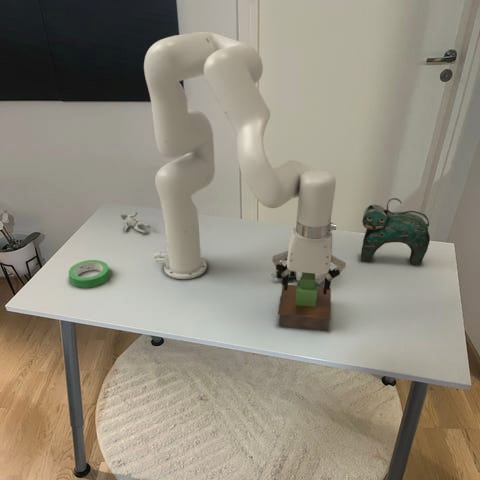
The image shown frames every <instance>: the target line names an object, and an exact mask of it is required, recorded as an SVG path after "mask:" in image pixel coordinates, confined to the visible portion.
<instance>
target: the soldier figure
mask: <svg viewBox="0 0 480 480" xmlns="http://www.w3.org/2000/svg"><path fill="white" fill-rule="evenodd" d="M137 215H138V211H135V212H134V213H133V214H128V213H121V214H120V218H121V220H123V221H124V224H125V228H124V232H127V230H128V229H129V226H130V227H132V228H133V229H134V230H135V231H137V232H138V233H143V234H144V235H145V234H146V235H147V234H148V232H147V231H146V230H143V229H142V228H141V226H145V227H147V228H148V229H151V225H150V224H147V223H146V222H144V221H138V220H137V219H136V218H135V217H136V216H137Z"/></svg>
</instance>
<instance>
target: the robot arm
mask: <svg viewBox="0 0 480 480" xmlns="http://www.w3.org/2000/svg"><path fill="white" fill-rule="evenodd" d="M263 65H264V64H263V60H262V57H261V55H260V54H259V52H258V51H257V50H256V49H255V48H254V47H253V46H252V45H250V44H248V43H246V42H242V41H240V40H237V39H233V38H230V37H227V36H224V35H222V34H219V33H216V32H211V31H206V30H205V31H196V32H190V33H189V32H188V33H183V34H177V35H171V36H168V37H165V38H162V39H159V40H157V41H156V42H154V43H153V44H152V45H151V46H150V47H149V48H148V50H147V51H146V53H145V56H144V62H143V72H144V77H145V82H146V86H147V89H148V93H149V99H150V105H151V115H152V122H153V123H152V124H153V129H154V139H155V143H156V147H157V150H158V152H159V154H160V155H161V156H163V157H165V158H167V159H174V160H172V161H170V162H167V163H166V164H164V165H162V166H161V167H160V168H159V170H158V171H157V172H156V174H155V177H154V184H155V188H156V191H157V195H158V197H159V201H160V205H161V210H162V211H161V212H162V219H163V226H164V235H165V242H166V243H165V244H166V251H165V252H160V251H159V252H158V251H155V252H154V259H155V262H156V263H160V264H161V263H162V264H163V270H164V273H165V274H166V275H167V276H169V277H170V278H172V279H177V280H191V279H194V278H197V277H200V276H201V275H203V274H204V273H205V272H206V270H207V261H206V259H204V258H203V257H202V256H201V255H202V254H201V241H200V223H199V212H198V208H197V205H196V204H195V203H194V201H193V199H192V195H194V194H195V193H197V192H199V191H201V190H203V189H204V188H206V187H208V186H209V185H210V184H211V183H212V182H213V180H214V177H215V173H216V172H215V170H216V169H215V168H216V165H215V163H216V162H215V146H214V144H215V143H214V131H213V128H212V125H211V122H210V120H209V118H208V116H207V115H206V114H205V113H204V112H202V111H201V110H200V109H195V108H191V109H189V108H188V98H187V97H188V96H187V94H186V91H185V89H184V87H183V86H182V84H181V82H182V81H185V80H188V79H193V78H198V77H200V76H204V79H205V81H206V83H207V85H208V87H209V89H210V90H211V93H212V94H213V96H214V98H215V99H216V101H217V103H218V105H219V106H220V108H221V109H222V112H223V113H224V116H225V117H226V119H227V120H228V122H229V124H230V125H231V127H232V129H233V131H234V132H235V135H236V153H237V160H238V166H239V169H240V173H241V175H242V177H243V178H244V181H245V182H246V184H247V186H248V187H249V190H250V192H252V194H253V195H254V197H255V198H256V199H257V201H258V202H259V203H260V204H261V205H262V206H264V207H266V208H269V209H276V208H280V207H282V206H284V205H285V204H286V203H288V202H289V201H291V200H292V199H294V198H298V200H297V201H298V202H297V210H296V211H297V212H296V222H295V227H292V229H291V230H292V231H291V233H290V238H289V244H288V250H285V251H284V252H280V253H278V254H275V255H273V256H272V259H271V261H272V263H273V265H274V266H275V270H276V271H277V270H278V271H279V272H280V273H281V275H282V276H283V278H282V279H281V286H282V287H283V286H285V287H284V290H285V291H286V290H287V288H288V285H289V280H290V279H289V278H290V277H289V273H290V272H291V271H295V272H305V273H316V274H323V275H324V276H325V279H324V281H323V288H324V289H323V294H326V293H327V290H330V288H331V284H332V281H333V280H334V279H335V278H336V277H338V276H339V275H341V272H343V270H344V269H345V268H346V262H345V261H344V260H342V259H340V258H338V257H336V256H334V255H333V254H332V252H333V231H336V230H337V223H333V222H332V221H331V220H332V214H333V213H332V212H333V207H334V199H335V191H336V186H337V185H336V183H337V180H336V177H335V175H334V174H333V173H332V172H329V171H326V170H323V169H316V168H312V167H311V166H308V165H306V164H305V163H303V162H301V161H297V160H287V161H285V162H283V163H281V164H279V165H278V166H276V167H274V168H273V167H272V165H271V163H270V160H269V158H268V157H267V153H266V152H265V147H264V146H265V145H264V137H265V132H266V128H267V125H268V123H269V121H270V119H271V111H270V108H269V107H268V105H267V103H266V101H265V99H264V98H263V96H262V94H261V92H260V91H259V88H258V87H257V85H256V84H257V83H258V82H259V81H260V80H261V78H262V76H263V71H264V66H263ZM176 158H177V159H176ZM284 259H287V264H286V265H285V266H283V265H282V264H281V263H280V262H281V261H282V260H284ZM331 264H333V265H335V266H336V267H335V268H333V269H331V268H330V267H331Z"/></svg>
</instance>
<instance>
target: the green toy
mask: <svg viewBox="0 0 480 480" xmlns="http://www.w3.org/2000/svg"><path fill="white" fill-rule="evenodd" d="M296 283H297V284H296V286H297V292H296V303H295V305H299V306H310V307H316V299H317V288H318V285H319V284H318V281H315V273H303V272H302V279H301V280H298V281H297V282H296Z"/></svg>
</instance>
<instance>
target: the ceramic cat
mask: <svg viewBox="0 0 480 480" xmlns="http://www.w3.org/2000/svg"><path fill="white" fill-rule="evenodd" d="M393 200H395V201H398V202H399V203H400V204H402V201H401V199H399V198H398V197H397V198H396V197H392V198H390V199H388V201H387V203H386V208H384V207H383V206H382V205H378V204H370V205H369V206H367V207H366V208H365V209H364V212H363V215H362V220H361V222H362V225H363V227H364V228H365V229H366V230H365V233H364V236H363V240H362V246H361V250H360V251H361V253H360V260H361V262H364V263H365V262H367V263H370V262H372V260H373V258H374V256H375V253H376V252H377V250H379V248H381V247H382V246H383V245H386V244H389V243H400V244H401V243H402V244H405V245H406V246H408V247H409V249H410V254H409V258H408V260H409V264H410V265H412V266H420V265H422V262H423V260H424V257H425V256H426V253H427V252H428V248H429V245H430V241H431V236H430V233H429V226H430V221H429V218H428V217H427V215H426V214H425V213H422V212H420V211H416V210H405V211H393V212H392V211H390V210H389V203H390V202H391V201H393ZM420 215H421V216H423V217H421V216H420ZM423 218H424V219H426V221H427V223H426V221H425V220H424V219H423Z"/></svg>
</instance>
